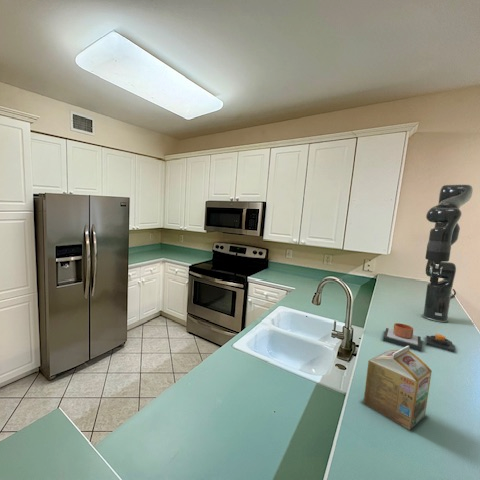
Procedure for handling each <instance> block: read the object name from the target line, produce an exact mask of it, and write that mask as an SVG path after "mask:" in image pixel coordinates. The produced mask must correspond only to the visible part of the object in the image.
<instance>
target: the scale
mask: <svg viewBox="0 0 480 480" xmlns="http://www.w3.org/2000/svg"><path fill="white" fill-rule="evenodd" d="M393 330H394V328H390V327H386V328H385V331H384V334H383V340H382V341H383V342H386V343H389V344H392V345H396V346H399V347H402V348H404V347H406V346H409V350H413V351H417V352H421V350H422V337H421V336H420V335H418V334H414V333H413V336H412V338H410V339H407V338H402V337H399V336H396V335H395V334H394V333H393Z"/></svg>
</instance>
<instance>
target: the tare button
mask: <svg viewBox="0 0 480 480" xmlns="http://www.w3.org/2000/svg"><path fill="white" fill-rule="evenodd" d="M434 336H435V338H436V339H438V340H442V341H445V339H447V338H446V336H445V335H442V334H437V333H436V334H435V335H434Z"/></svg>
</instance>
